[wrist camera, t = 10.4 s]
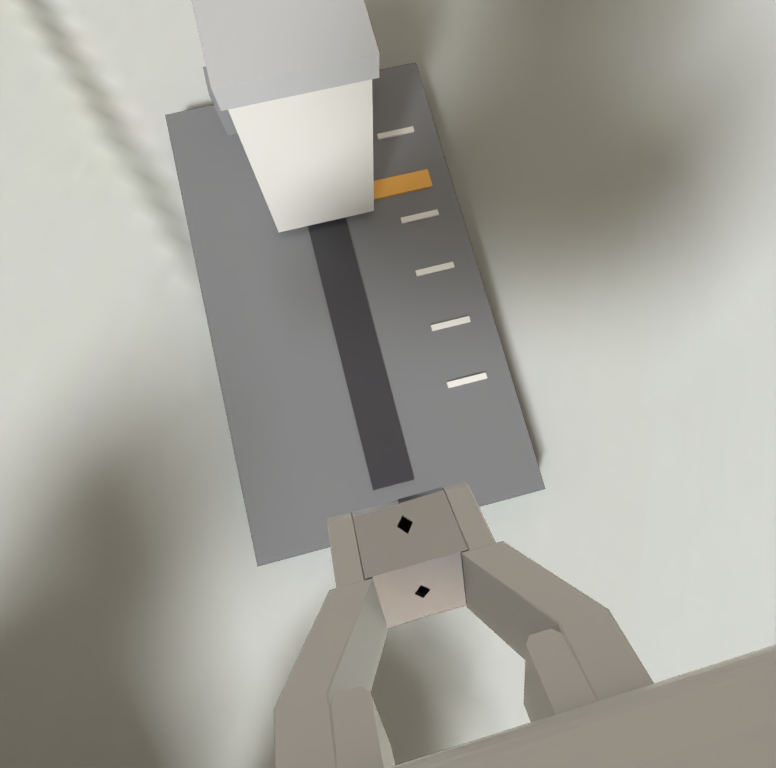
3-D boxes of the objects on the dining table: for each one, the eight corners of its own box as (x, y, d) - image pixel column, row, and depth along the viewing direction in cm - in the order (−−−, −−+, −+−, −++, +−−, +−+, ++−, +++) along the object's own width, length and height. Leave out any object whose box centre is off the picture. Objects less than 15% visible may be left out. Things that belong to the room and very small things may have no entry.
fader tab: (378, 213, 26) (379, 53, 16) (276, 237, 25) (210, 88, 15) (362, 155, 26) (353, -35, 16) (261, 177, 26) (190, -3, 16)
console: (535, 487, 25) (569, 491, 21) (265, 560, 25) (239, 580, 20) (413, 84, 29) (420, 13, 25) (176, 134, 28) (138, 70, 24)
